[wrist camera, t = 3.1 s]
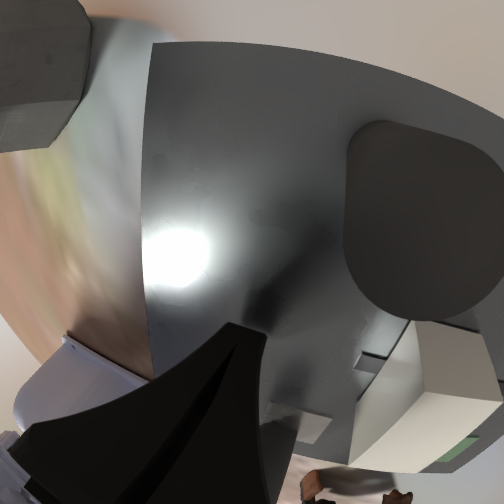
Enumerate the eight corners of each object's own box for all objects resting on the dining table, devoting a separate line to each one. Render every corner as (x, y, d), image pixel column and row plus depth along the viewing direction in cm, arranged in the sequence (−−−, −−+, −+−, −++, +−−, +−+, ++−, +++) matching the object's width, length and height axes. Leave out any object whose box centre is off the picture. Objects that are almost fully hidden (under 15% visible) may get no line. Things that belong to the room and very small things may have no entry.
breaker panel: (173, 382, 18) (158, 405, 16) (185, 50, 9) (151, 42, 7) (450, 449, 14) (451, 474, 12) (615, 216, 5) (639, 235, 3)
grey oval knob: (256, 434, 14) (224, 512, 10) (262, 418, 13) (227, 505, 9) (291, 444, 14) (265, 524, 9) (301, 429, 13) (274, 519, 8)
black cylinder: (338, 184, 7) (319, 295, 3) (355, 110, 6) (372, 106, 2) (409, 206, 7) (469, 336, 3) (430, 135, 6) (541, 182, 2)
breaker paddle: (355, 404, 11) (347, 466, 8) (413, 316, 8) (424, 391, 6) (415, 415, 10) (416, 473, 8) (481, 334, 8) (503, 402, 5)
